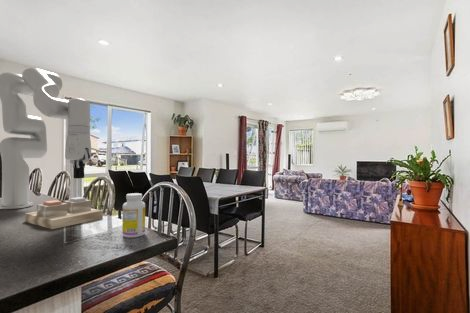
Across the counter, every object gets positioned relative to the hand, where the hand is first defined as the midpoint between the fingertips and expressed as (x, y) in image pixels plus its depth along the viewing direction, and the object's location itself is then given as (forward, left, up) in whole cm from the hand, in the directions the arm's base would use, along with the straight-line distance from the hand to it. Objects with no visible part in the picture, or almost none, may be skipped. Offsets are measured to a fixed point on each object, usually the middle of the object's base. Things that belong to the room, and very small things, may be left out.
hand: (78, 178), depth 102 cm
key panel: (-1, -5, -16) cm, 16 cm away
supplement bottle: (+35, -4, -16) cm, 39 cm away
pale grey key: (-1, 0, -11) cm, 11 cm away
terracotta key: (-1, -9, -11) cm, 14 cm away
